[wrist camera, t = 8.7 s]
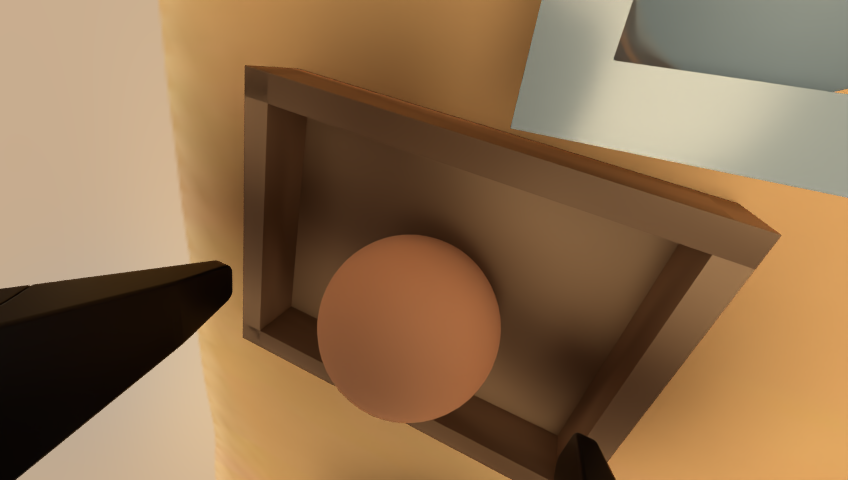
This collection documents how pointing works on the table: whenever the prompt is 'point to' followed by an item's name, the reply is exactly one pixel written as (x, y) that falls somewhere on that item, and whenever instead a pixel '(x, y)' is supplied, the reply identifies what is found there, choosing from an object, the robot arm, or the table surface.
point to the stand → (697, 84)
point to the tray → (489, 256)
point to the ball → (408, 328)
